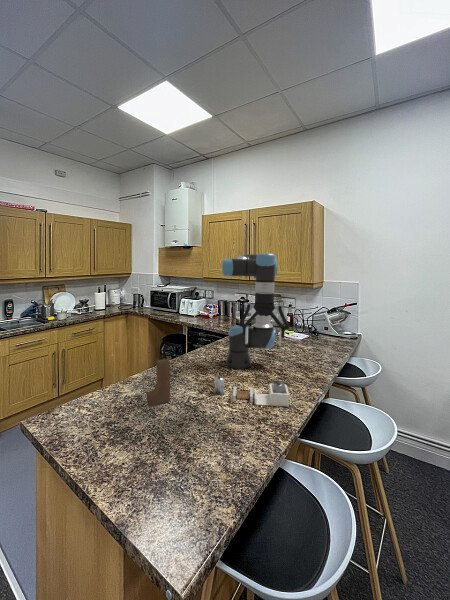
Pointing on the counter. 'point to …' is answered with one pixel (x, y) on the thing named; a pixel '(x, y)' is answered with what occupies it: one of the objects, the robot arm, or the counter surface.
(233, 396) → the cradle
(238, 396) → the plate
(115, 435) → the counter surface
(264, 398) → the rack
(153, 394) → the wooden block
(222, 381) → the cell
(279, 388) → the cell
